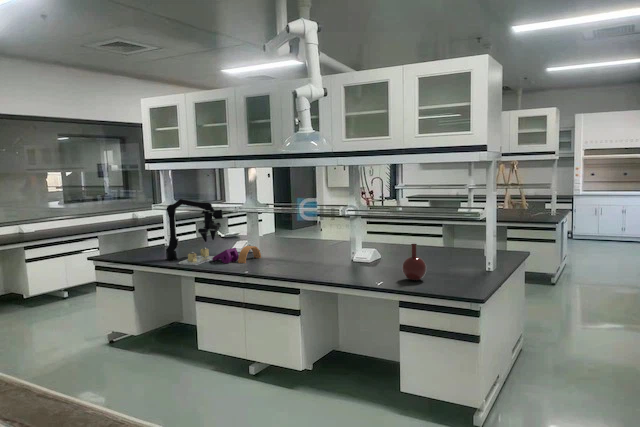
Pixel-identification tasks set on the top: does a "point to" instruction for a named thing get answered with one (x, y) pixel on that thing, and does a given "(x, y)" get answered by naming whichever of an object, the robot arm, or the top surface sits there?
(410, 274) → the round-bottom flask
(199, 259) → the pitch plate
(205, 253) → the sliding leg
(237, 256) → the mounting bracket
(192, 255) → the fixed leg
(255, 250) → the arch
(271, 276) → the top surface
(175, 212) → the robot arm
